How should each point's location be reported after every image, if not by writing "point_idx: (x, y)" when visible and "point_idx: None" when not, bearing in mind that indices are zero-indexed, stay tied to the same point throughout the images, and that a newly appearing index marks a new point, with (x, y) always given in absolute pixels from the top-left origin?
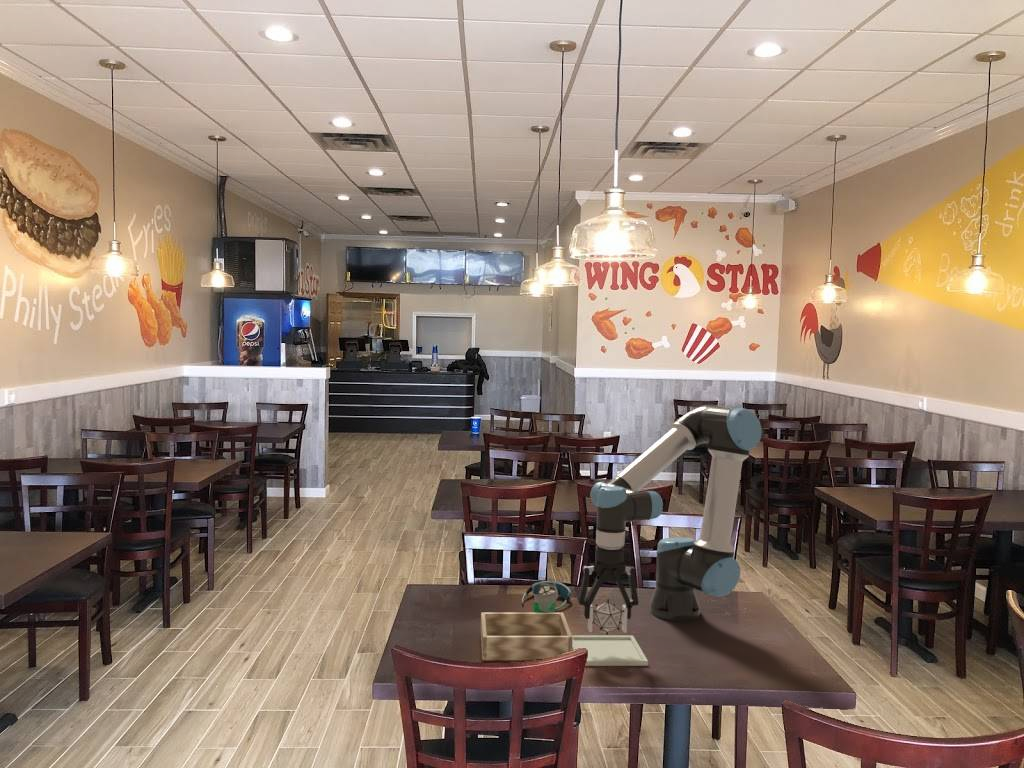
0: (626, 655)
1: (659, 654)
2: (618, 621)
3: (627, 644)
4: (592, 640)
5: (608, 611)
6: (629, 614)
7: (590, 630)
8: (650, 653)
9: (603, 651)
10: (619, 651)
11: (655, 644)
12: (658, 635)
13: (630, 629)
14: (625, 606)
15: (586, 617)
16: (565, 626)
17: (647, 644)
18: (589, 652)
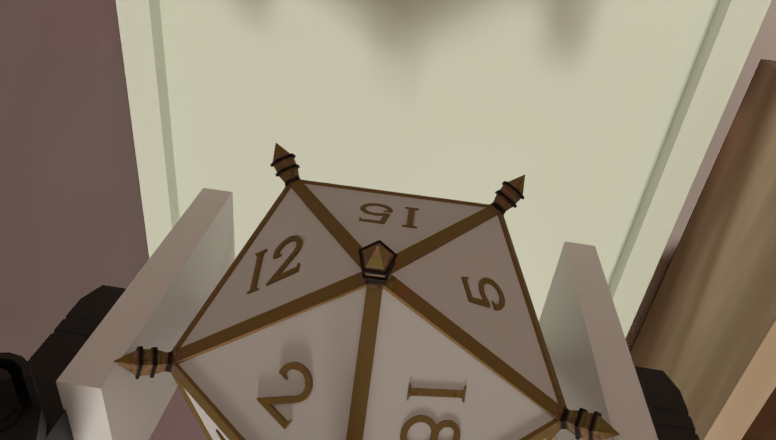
0: (270, 50)
1: (5, 65)
2: (262, 239)
3: None
4: None
5: (390, 354)
6: (80, 324)
7: (585, 256)
8: (73, 93)
9: (436, 151)
10: (308, 133)
11: (28, 227)
12: (5, 336)
13: (163, 425)
14: (82, 436)
15: (657, 383)
16: (763, 392)
17: (82, 235)
18: (557, 150)
